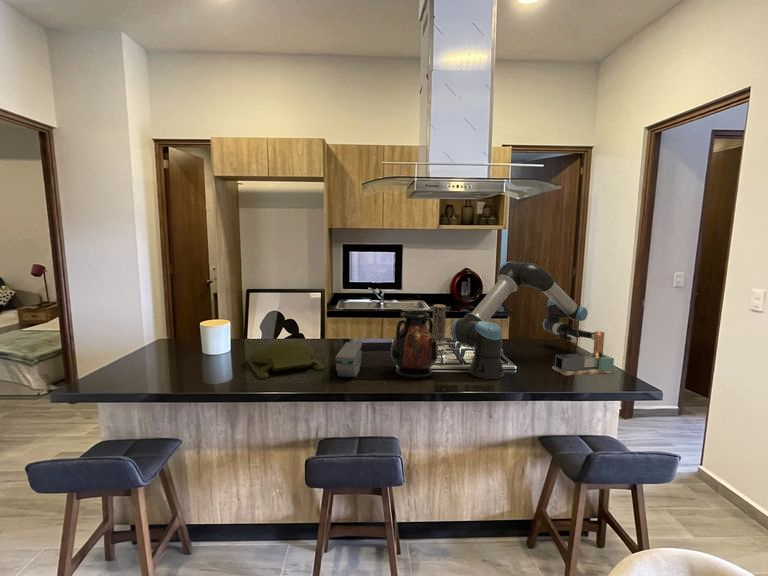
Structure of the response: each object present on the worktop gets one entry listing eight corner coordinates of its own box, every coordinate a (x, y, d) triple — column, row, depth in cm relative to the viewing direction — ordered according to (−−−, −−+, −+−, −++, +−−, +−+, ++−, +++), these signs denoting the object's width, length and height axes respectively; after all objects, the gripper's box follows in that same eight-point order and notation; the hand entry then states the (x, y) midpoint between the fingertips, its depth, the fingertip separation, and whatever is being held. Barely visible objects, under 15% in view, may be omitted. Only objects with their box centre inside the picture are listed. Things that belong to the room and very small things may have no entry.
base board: (564, 375, 187) (564, 372, 187) (552, 368, 197) (552, 366, 197) (613, 373, 191) (613, 370, 191) (598, 366, 201) (599, 364, 201)
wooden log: (443, 348, 231) (445, 304, 227) (444, 351, 224) (446, 306, 221) (431, 347, 231) (433, 304, 228) (432, 351, 224) (433, 306, 221)
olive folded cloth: (326, 370, 191) (326, 350, 189) (259, 381, 176) (258, 359, 175) (303, 352, 221) (303, 334, 220) (244, 359, 206) (243, 340, 205)
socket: (601, 370, 191) (602, 358, 190) (588, 364, 200) (589, 353, 199) (613, 370, 192) (614, 358, 191) (599, 364, 201) (600, 352, 200)
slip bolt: (576, 367, 191) (578, 334, 189) (571, 365, 195) (573, 332, 193) (604, 366, 194) (607, 333, 192) (598, 363, 198) (601, 331, 196)
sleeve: (562, 371, 189) (563, 358, 188) (554, 367, 195) (555, 354, 194) (583, 370, 191) (584, 357, 190) (575, 366, 197) (576, 353, 196)
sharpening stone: (353, 382, 175) (353, 357, 173) (335, 381, 175) (335, 357, 174) (361, 364, 199) (362, 342, 198) (345, 363, 200) (346, 342, 199)
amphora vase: (420, 363, 202) (421, 307, 198) (447, 376, 183) (449, 315, 180) (381, 370, 192) (382, 311, 188) (406, 384, 173) (407, 319, 169)
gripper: (583, 336, 225) (610, 346, 204) (541, 337, 221) (564, 348, 200) (584, 323, 224) (611, 332, 203) (542, 324, 220) (565, 333, 199)
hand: (588, 340), depth 201 cm, fingers open, 13 cm apart
